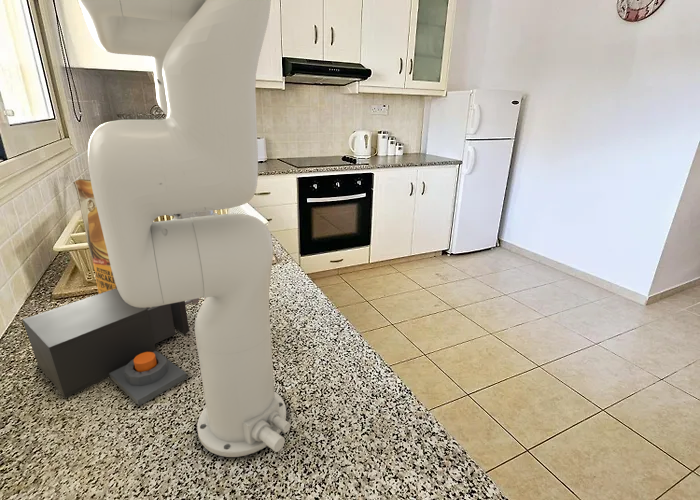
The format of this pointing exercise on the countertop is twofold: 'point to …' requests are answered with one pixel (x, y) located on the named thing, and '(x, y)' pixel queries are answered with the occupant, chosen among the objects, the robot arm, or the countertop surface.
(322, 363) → the countertop surface
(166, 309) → the drawer
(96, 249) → the pancake mix bag
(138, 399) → the control pad
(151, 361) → the button
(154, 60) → the robot arm
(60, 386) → the matte grey oblong box
